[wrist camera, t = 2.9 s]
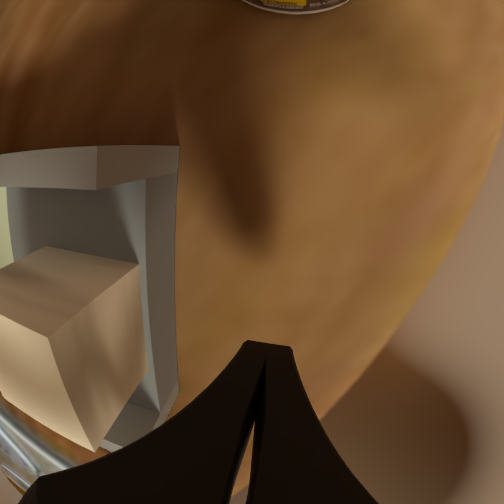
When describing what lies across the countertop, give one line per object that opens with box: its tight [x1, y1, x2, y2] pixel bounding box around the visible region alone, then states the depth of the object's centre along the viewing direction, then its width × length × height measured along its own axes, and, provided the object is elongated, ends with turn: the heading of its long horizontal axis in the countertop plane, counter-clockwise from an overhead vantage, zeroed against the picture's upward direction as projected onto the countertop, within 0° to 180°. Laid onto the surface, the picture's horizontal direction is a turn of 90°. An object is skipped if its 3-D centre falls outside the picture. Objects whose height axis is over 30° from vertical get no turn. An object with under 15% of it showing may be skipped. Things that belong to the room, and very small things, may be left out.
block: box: [0, 246, 149, 452], centre depth 8 cm, size 4×4×4 cm
